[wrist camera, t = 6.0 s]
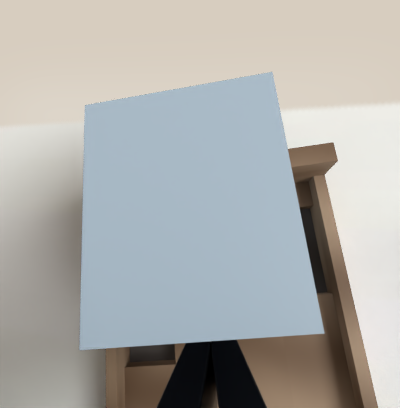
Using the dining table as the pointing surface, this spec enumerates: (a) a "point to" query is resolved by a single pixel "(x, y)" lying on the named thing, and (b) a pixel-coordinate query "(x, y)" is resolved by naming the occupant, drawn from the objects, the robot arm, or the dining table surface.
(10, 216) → the dining table surface
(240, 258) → the blue block
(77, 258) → the dining table surface
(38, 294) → the dining table surface
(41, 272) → the dining table surface
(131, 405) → the box
